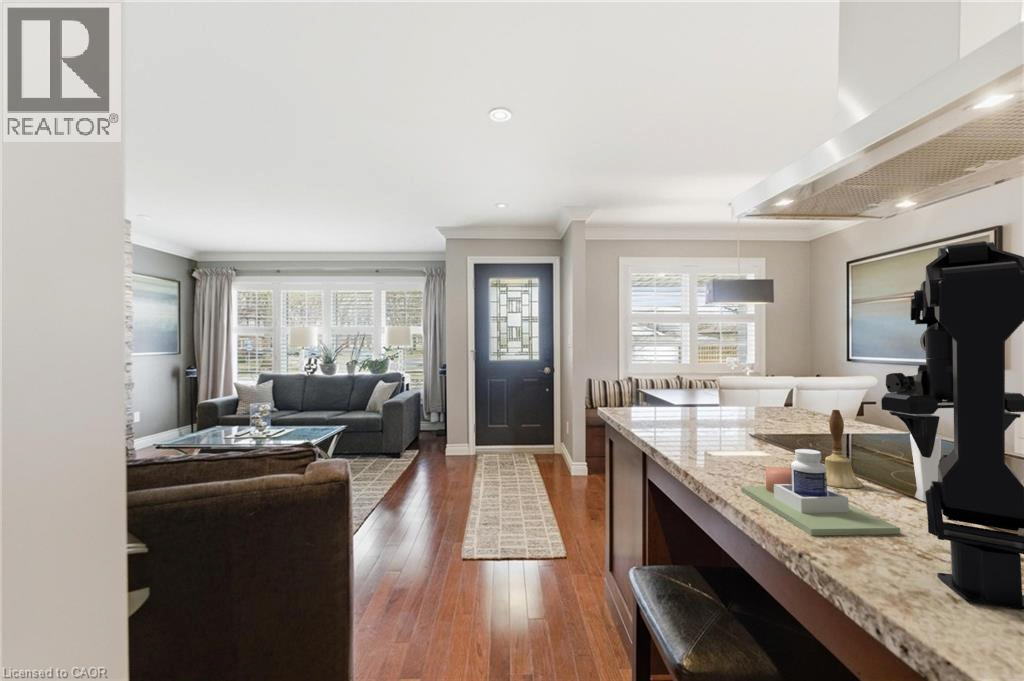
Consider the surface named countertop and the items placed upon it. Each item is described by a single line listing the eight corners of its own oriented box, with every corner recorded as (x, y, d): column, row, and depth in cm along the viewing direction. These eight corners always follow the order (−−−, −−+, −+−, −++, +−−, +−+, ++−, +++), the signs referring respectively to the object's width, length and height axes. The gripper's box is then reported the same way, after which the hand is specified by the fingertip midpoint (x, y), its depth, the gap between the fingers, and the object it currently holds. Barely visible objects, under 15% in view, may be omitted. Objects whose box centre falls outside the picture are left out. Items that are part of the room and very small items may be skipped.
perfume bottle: (907, 497, 86) (904, 420, 87) (920, 494, 88) (917, 419, 88) (936, 505, 82) (933, 424, 83) (950, 501, 84) (946, 422, 84)
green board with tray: (900, 534, 70) (898, 502, 70) (811, 535, 70) (810, 503, 70) (808, 490, 92) (807, 466, 92) (741, 491, 92) (740, 467, 92)
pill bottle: (833, 510, 78) (831, 455, 78) (800, 508, 79) (798, 454, 79) (818, 500, 83) (817, 448, 83) (787, 498, 84) (785, 447, 84)
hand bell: (807, 477, 101) (805, 407, 101) (844, 477, 100) (842, 407, 101) (832, 489, 93) (829, 412, 93) (873, 488, 92) (870, 412, 93)
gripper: (955, 357, 79) (959, 444, 79) (853, 359, 79) (856, 447, 78) (1029, 358, 68) (1034, 459, 67) (911, 360, 67) (915, 463, 67)
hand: (954, 456), depth 70 cm, fingers open, 9 cm apart
